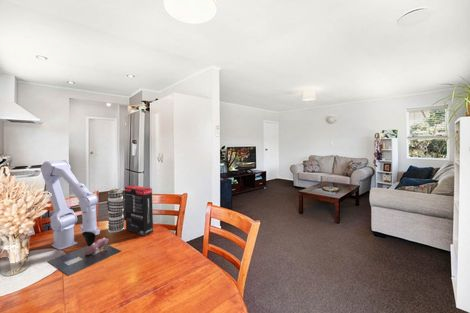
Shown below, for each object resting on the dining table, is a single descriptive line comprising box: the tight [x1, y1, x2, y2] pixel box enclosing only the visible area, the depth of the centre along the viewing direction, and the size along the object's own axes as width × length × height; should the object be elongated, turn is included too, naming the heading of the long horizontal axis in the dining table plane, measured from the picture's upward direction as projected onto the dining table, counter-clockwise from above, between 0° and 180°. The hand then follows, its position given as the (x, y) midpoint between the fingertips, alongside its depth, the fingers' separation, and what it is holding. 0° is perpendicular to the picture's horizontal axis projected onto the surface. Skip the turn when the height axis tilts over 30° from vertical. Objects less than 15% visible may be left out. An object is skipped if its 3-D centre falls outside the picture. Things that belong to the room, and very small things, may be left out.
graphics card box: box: [124, 184, 154, 237], centre depth 124 cm, size 17×7×27 cm, turn 63°
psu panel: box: [47, 243, 122, 276], centre depth 98 cm, size 20×22×1 cm
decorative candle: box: [106, 188, 125, 234], centre depth 127 cm, size 9×9×25 cm
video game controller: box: [85, 237, 110, 255], centre depth 102 cm, size 10×5×7 cm, turn 168°
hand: (90, 245), depth 105 cm, fingers closed
